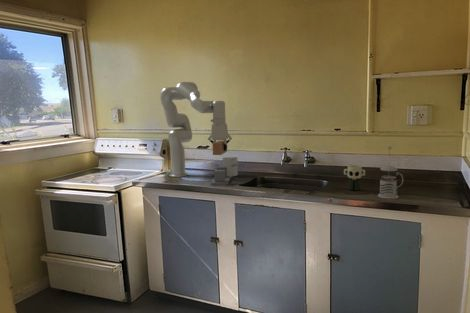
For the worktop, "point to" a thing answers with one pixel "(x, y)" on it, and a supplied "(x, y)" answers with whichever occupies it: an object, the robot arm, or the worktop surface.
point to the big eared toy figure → (354, 176)
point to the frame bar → (218, 148)
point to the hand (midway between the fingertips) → (220, 150)
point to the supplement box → (231, 165)
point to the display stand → (221, 176)
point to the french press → (386, 180)
